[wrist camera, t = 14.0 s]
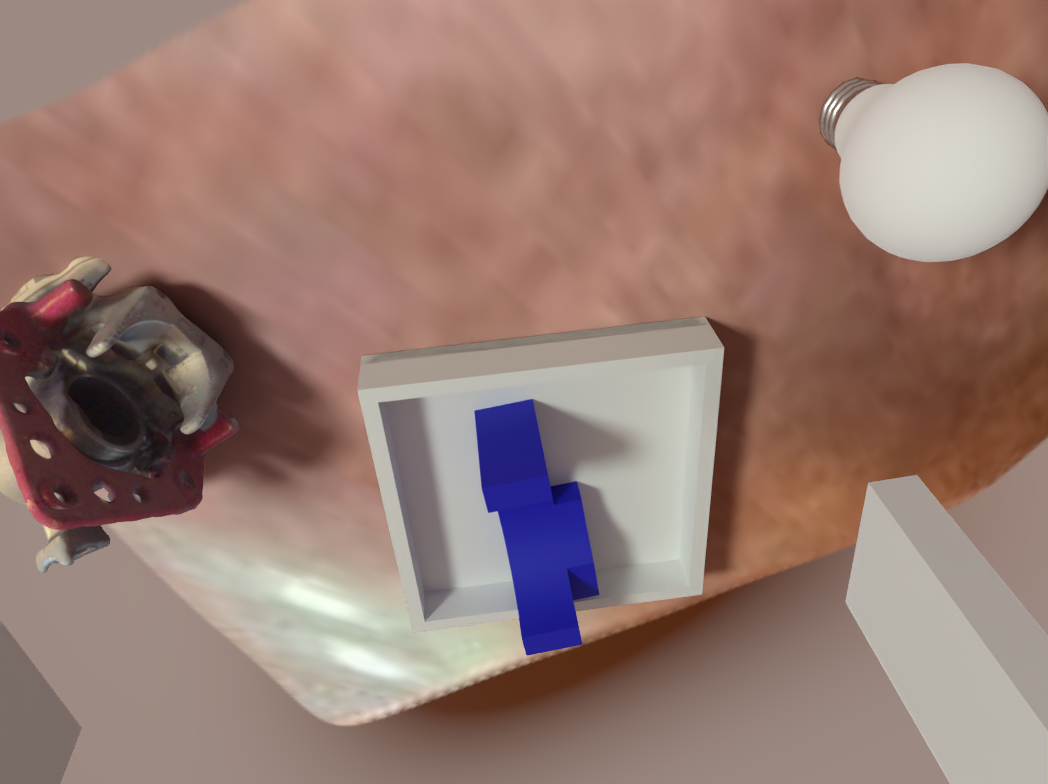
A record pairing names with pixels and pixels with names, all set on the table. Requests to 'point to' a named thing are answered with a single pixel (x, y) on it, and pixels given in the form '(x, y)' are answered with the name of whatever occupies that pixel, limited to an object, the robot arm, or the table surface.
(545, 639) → the blue curved block
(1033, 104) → the light bulb
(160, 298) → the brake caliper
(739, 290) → the table surface
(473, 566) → the kit tray
